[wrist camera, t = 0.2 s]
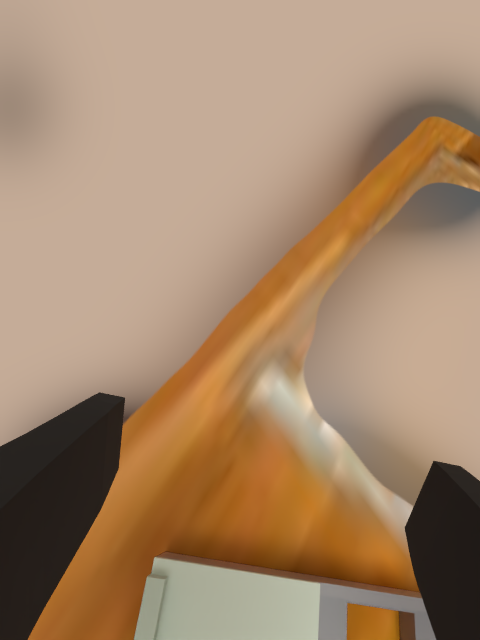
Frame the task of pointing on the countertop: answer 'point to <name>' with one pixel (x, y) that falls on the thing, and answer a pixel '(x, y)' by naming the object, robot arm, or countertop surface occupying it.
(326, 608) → the housing
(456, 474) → the robot arm
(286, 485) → the countertop surface
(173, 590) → the lid
